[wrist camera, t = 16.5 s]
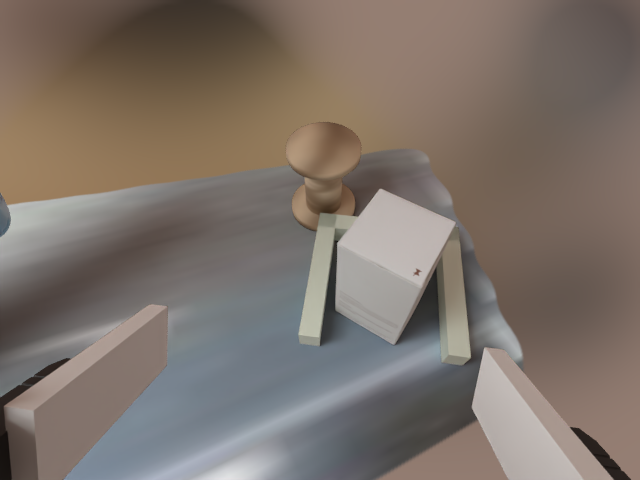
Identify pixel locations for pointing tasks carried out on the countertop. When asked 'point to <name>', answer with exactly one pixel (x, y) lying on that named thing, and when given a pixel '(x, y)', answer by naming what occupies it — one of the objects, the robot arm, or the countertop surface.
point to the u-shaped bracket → (448, 283)
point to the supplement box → (388, 263)
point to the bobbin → (322, 170)
